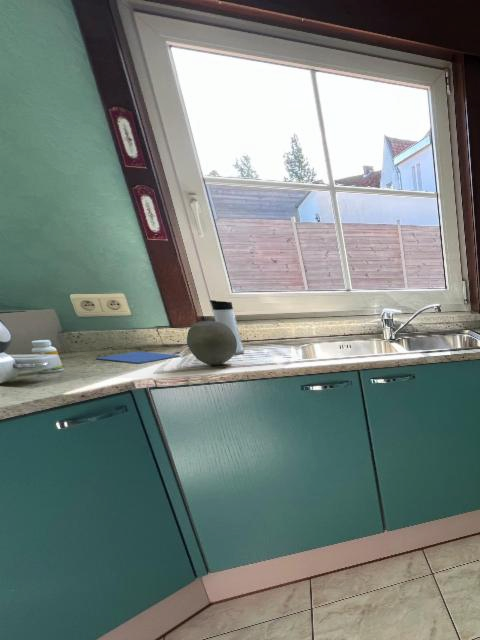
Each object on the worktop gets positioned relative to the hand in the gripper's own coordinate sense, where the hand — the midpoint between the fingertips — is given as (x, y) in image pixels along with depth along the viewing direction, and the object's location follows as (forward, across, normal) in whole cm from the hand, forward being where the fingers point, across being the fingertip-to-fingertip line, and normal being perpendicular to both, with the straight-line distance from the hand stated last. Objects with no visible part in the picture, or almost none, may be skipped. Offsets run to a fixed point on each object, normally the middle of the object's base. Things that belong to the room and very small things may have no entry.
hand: (33, 357), depth 150 cm
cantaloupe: (+9, -44, +6) cm, 46 cm away
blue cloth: (+25, -13, +5) cm, 28 cm away
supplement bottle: (+4, 0, +6) cm, 7 cm away
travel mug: (+30, -41, +6) cm, 51 cm away
